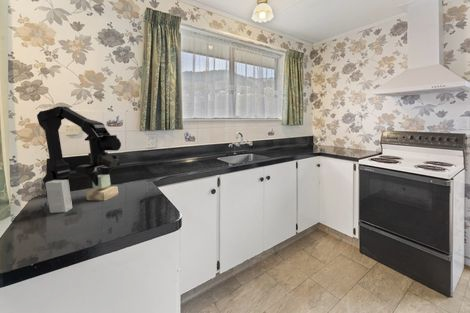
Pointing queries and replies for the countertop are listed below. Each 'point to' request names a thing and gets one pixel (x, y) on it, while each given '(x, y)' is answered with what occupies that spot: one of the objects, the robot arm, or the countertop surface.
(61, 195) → the skincare box
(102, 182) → the sage cube
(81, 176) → the countertop surface
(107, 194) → the maple block
